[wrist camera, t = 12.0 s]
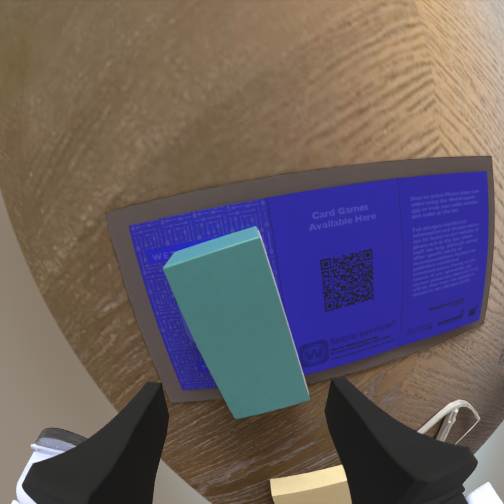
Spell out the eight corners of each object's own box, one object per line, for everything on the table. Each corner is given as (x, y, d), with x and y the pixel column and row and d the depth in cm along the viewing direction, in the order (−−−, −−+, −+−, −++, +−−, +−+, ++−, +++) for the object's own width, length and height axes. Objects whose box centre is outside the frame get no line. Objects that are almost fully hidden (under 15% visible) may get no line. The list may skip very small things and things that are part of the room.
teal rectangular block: (235, 391, 20) (235, 420, 17) (174, 252, 17) (161, 268, 14) (302, 372, 20) (311, 400, 17) (256, 224, 17) (261, 235, 14)
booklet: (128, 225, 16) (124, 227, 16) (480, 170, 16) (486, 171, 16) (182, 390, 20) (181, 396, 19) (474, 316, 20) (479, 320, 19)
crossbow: (404, 414, 23) (412, 426, 21) (486, 380, 24) (496, 389, 22) (375, 490, 27) (379, 501, 25) (448, 461, 27) (454, 469, 25)
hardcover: (281, 515, 28) (283, 529, 25) (269, 478, 24) (271, 496, 22) (352, 500, 28) (356, 512, 25) (361, 457, 24) (368, 473, 22)
